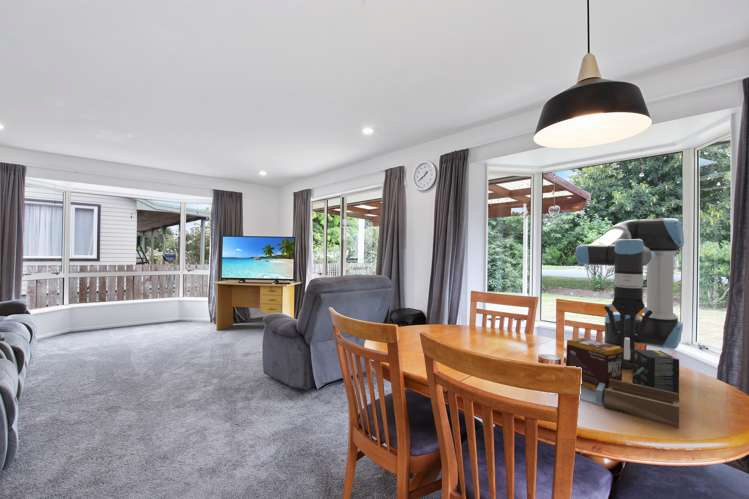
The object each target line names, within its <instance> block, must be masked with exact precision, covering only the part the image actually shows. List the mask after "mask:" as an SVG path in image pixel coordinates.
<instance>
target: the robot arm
mask: <svg viewBox="0 0 749 499" xmlns="http://www.w3.org/2000/svg"><path fill="white" fill-rule="evenodd" d="M684 245H685V235H684V229H683V226H682V224H681V221H680V220H679V219H677V218H673V217H667V218H666V217H663V218H662V217H661V218H646V219H645V218H643V219H630V220H625V221H622V222H619V223H616V224H615V225H612V226H611V227H609V228H608V229H607V230H606V231H605V233H604V234H603V235H601V237H599V238H598V239H596V240H594V241H593V242H592V243H590V244H587V243H586V244H579V245H578V246H576V248H575V252H574V253H575V257H574V258H575V260H576V262H577V264H579V265H586V266H608V267H609V266H611V267H612V266H614V277H613V278H614V281H613V284H614V285H615V286H614V288H613V300H612V302H611V303H610V304H606V305H605V306H604V310H605V311H606V314H605V316H604V317H605V318H604V323H603V324H604V343H608V344H612V345H616V346H620V347H621V348H623V358H622V369H629V370H631V369H632V370H633V350H634V349H637V344H640V345H646V346H650V347H651V346H652V347H657V348H660V349H661V348H662V349H667V350H668V349H669V350H675V349H677V348H678V347H679V345H680V342H681V338H682V333H683V328H684V327H683V326H684V323H683V322H682V321H680V320H679V317H678V315H676V314H675V313H674V267H675V266H674V262H675V261H674V258H675V257H674V256H675V255H676V254H677V253H679V252H680V251H679V250H680V248H681V247H684ZM644 266H646V304H645V303H644V296H643V295H644V288H642V287H643V286H644ZM645 305H646V306H645ZM614 308H615V310H616V311H614ZM641 311H643V312H642V314H641V315H642V316H638V314H639V313H640V312H641Z"/></svg>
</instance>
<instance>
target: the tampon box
mask: <svg viewBox="0 0 749 499" xmlns="http://www.w3.org/2000/svg"><path fill="white" fill-rule="evenodd" d="M631 377H632V381H631V383H633V384H638V385H643V386H647V387H652V388H656V389H661V390H666V391H670V392H675V393H678V403H679V402H680V358H676V357H674V356H673V355H670V354H669V353H666V352H664V351H662V350H655V349H654V350H652V349H640V348H636V349H634V350H633V369H632V376H631Z"/></svg>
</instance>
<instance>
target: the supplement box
mask: <svg viewBox="0 0 749 499" xmlns="http://www.w3.org/2000/svg"><path fill="white" fill-rule="evenodd" d="M565 358H566V359H565V360H566V362H565V367H566V366H576V367H581V368H582V385H581V386H583V387H587V388H589V389H592V390H594V391H596V389H597V387H598V385H599V383H604V384H605V388H606V389H608V387H609V379H615V380H620V381H623V368H622V358H623V348H621V347H620V346H616V345H612V344H608V343H605V341H598V340H595V339H591V338H586V337H578V338H571V339H567V340H566V357H565Z"/></svg>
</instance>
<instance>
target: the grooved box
mask: <svg viewBox="0 0 749 499" xmlns="http://www.w3.org/2000/svg"><path fill="white" fill-rule="evenodd" d="M603 409H606V410H610V411H613V412H614V411H615V412H617V413H621V414H624V415H629V416H632V417H636V418H640V419H644V420H648V421H651V422H655V423H659V424H663V425H666V426H668V427H669V426H670V427H672V428H673V427H674V428H678V429H679V428H680V405H679V402H678V393H675V392H670V391H666V390H661V389H656V388H652V387H647V386H643V385H638V384H633V383H632V382H627V381H623V380H622V381H620V380H615V379H609V387H608V389H606V388H605V393H604V404H603Z"/></svg>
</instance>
